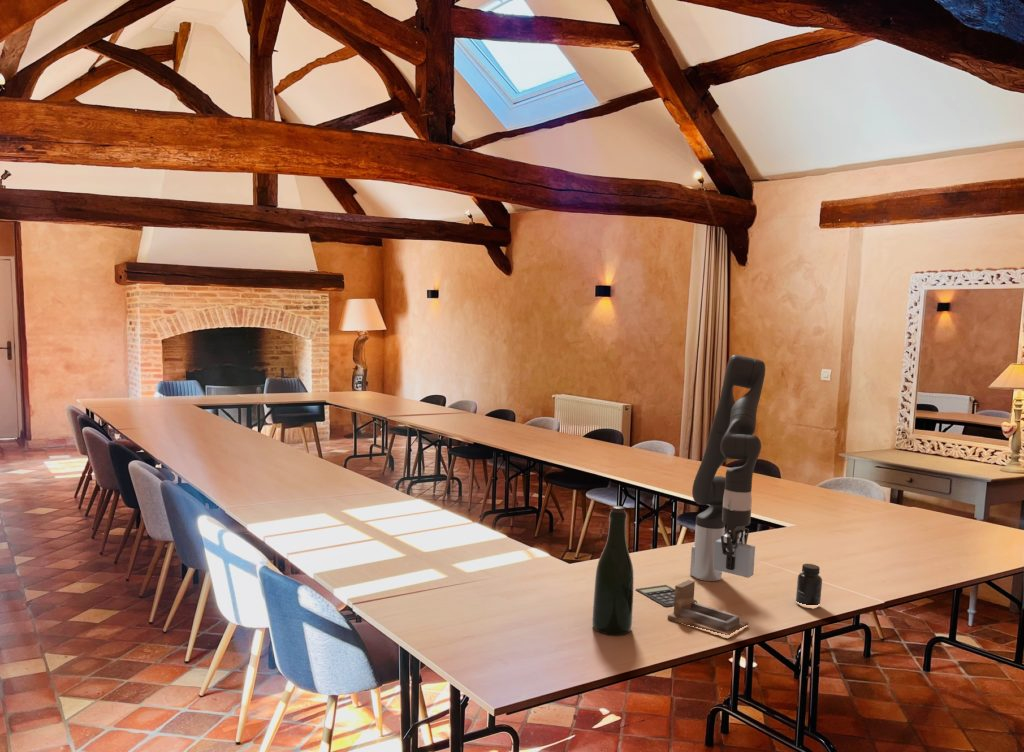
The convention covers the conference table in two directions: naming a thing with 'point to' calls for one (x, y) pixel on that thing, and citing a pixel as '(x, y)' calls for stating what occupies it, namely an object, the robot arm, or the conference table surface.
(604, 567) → the dark green wine bottle
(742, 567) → the gray rectangular block
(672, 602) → the calculator
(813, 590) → the supplement bottle
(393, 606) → the conference table surface
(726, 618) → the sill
